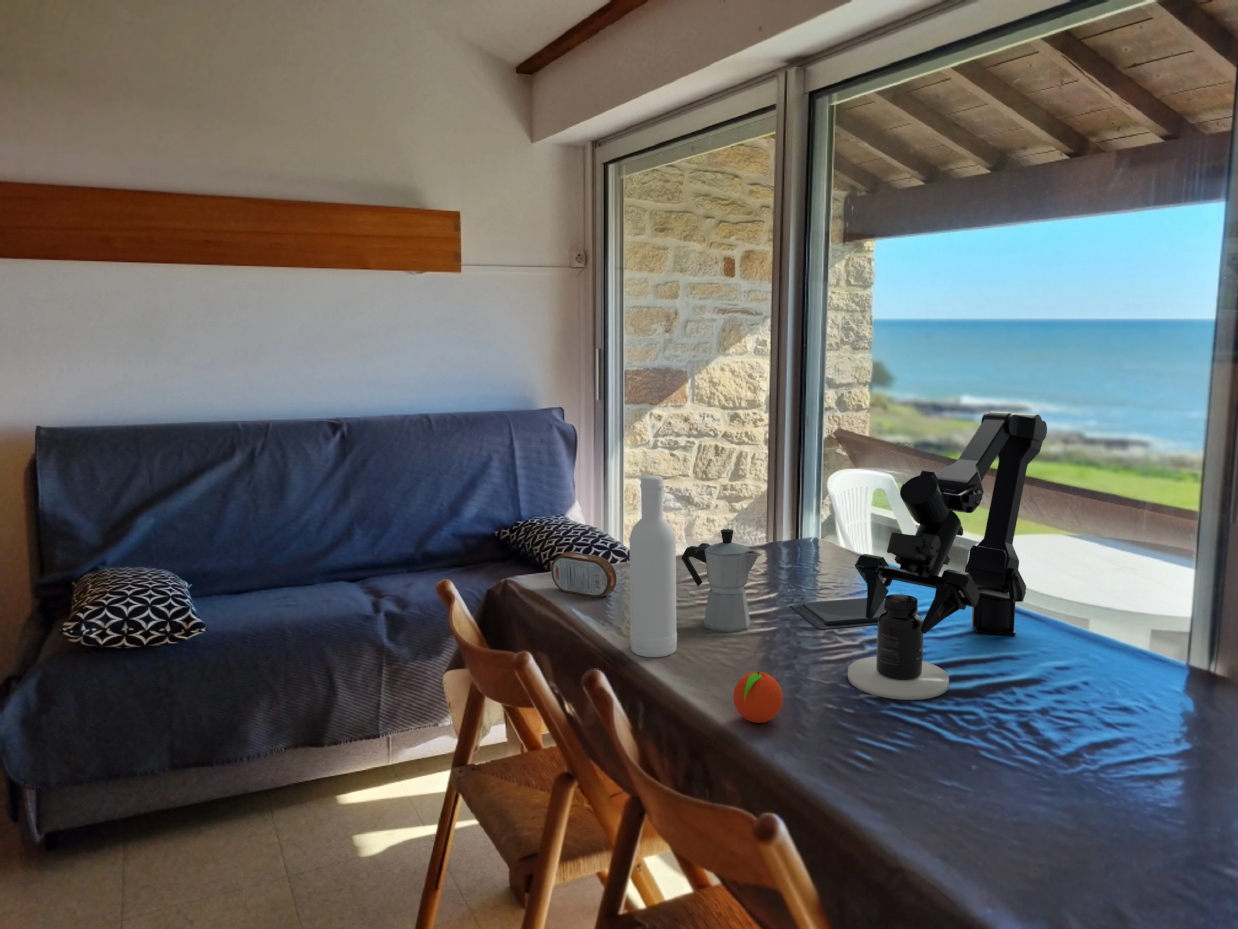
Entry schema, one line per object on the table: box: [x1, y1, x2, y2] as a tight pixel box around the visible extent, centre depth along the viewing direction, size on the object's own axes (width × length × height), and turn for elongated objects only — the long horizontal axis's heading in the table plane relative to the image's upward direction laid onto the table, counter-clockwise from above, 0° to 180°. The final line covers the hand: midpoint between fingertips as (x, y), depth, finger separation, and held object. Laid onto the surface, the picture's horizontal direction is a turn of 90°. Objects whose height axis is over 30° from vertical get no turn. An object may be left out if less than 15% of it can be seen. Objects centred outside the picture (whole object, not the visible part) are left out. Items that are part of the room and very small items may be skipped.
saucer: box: [847, 656, 950, 701], centre depth 146 cm, size 15×15×1 cm
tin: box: [550, 551, 618, 599], centre depth 195 cm, size 15×3×8 cm, turn 58°
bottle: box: [629, 474, 678, 658], centre depth 160 cm, size 8×8×30 cm
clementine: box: [732, 671, 784, 724], centre depth 132 cm, size 8×7×7 cm
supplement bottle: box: [876, 593, 924, 680], centre depth 145 cm, size 7×7×12 cm
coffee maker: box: [680, 528, 762, 634], centre depth 173 cm, size 15×9×18 cm, turn 71°
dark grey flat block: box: [789, 597, 886, 631], centre depth 180 cm, size 20×2×15 cm
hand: (894, 625), depth 144 cm, fingers open, 9 cm apart
